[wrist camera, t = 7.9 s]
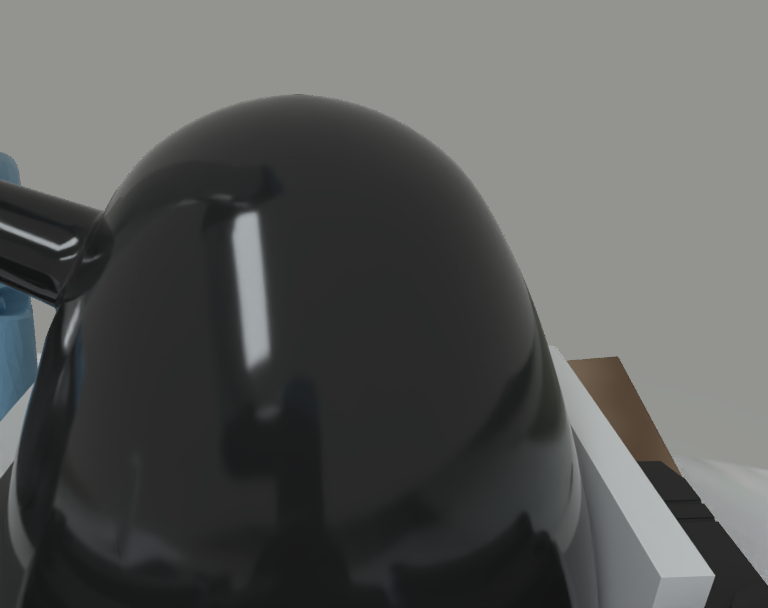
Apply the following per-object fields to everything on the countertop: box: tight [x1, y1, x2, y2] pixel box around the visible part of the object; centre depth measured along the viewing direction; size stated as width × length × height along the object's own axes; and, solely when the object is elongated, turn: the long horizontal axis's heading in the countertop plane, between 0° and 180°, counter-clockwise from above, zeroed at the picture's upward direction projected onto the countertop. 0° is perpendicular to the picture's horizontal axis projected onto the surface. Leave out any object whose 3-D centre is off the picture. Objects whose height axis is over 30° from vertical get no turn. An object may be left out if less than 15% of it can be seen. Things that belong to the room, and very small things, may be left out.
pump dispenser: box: [0, 94, 599, 608], centre depth 10 cm, size 10×10×15 cm
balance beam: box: [567, 357, 681, 476], centre depth 30 cm, size 30×12×4 cm, turn 84°
